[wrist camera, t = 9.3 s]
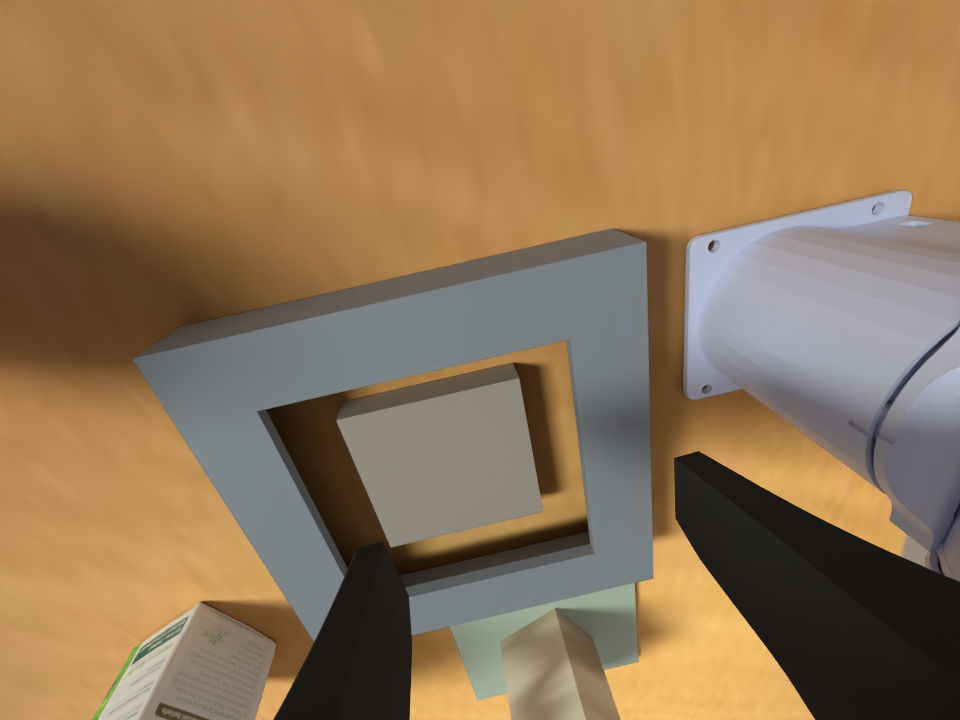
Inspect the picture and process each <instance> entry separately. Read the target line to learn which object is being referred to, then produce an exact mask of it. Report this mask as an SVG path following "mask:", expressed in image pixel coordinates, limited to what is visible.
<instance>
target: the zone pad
mask: <svg viewBox="0 0 960 720" xmlns="http://www.w3.org/2000/svg"><path fill="white" fill-rule="evenodd" d="M554 608H555V609H557V610H558V611H559V612H561V613H562V614H563V615H564V616H566V617H567V618H568V619H570V620H571V621H572V622H574V623H575V624H576V625H578V626H579V627H580V628H582V629H583V630H584V631H586V632H587V633H588V634H589V635H591V636H592V638H593V641H594V643H595V646H596V649H597V652H598V655H599V658H600V661H601V664H602V667H603V670H606V669H611V668H615V667H619V666H623V665H627V664H632V663H636V662H639V658H638V638H637V619H636V600H635V583H632V584H628V585H624V586H620V587H615V588H611V589H607V590H603V591H598V592H594V593H590V594H586V595H582V596H577V597H573V598H569V599H565V600H560V601H556V602H552V603H548V604H544V605H539V606H535V607H531V608H527V609H522V610H518V611H514V612H510V613H506V614H501V615H497V616H493V617H489V618H484V619H480V620H476V621H472V622H468V623H463V624H459V625H455V626H451V627H450V630H451V632H452V635H453V637H454V640H455V643H456V645H457V648H458V650H459V653H460V656H461V658H462V661H463V663H464V666H465V669H466V671H467V674H468V676H469V679H470V682H471V684H472V687H473V689H474V692H475V695H476V697H477V700H481V699H485V698H489V697H493V696H498V695H502V694H506V693H507V686H506V679H505V673H504V666H503V659H502V652H501V645H500V642H501V641H502V640H504V639H505V638H507V637H509V636H510V635H512V634H513V633H515V632H517V631H518V630H520V629H522V628H523V627H525V626H526V625H528V624H530V623H531V622H533V621H534V620H536V619H538V618H539V617H541V616H543V615H544V614H546V613H547V612H549V611H551V610H552V609H554Z"/></svg>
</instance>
